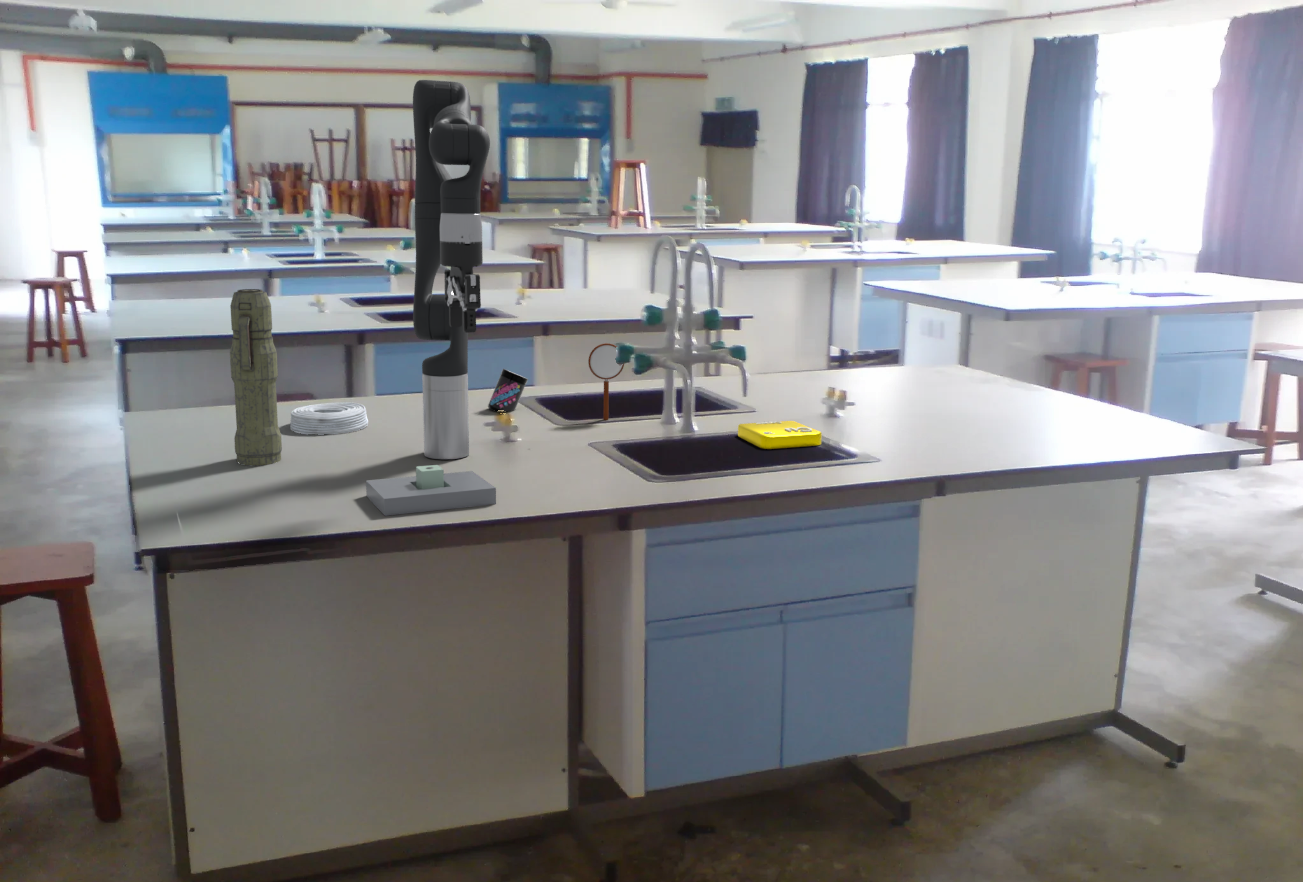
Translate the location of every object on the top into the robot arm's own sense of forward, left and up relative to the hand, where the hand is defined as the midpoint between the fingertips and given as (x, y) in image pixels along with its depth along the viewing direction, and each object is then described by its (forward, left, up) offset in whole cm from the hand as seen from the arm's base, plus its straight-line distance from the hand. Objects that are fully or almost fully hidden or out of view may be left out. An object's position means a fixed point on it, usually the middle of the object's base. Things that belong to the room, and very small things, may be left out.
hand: (462, 329), depth 213 cm
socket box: (+5, -8, -30) cm, 32 cm away
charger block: (+5, -8, -30) cm, 32 cm away
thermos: (-36, -32, -30) cm, 57 cm away
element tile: (-12, +77, -31) cm, 83 cm away
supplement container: (-66, +31, -30) cm, 79 cm away
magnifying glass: (-46, +49, -30) cm, 74 cm away
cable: (-62, -13, -31) cm, 71 cm away
